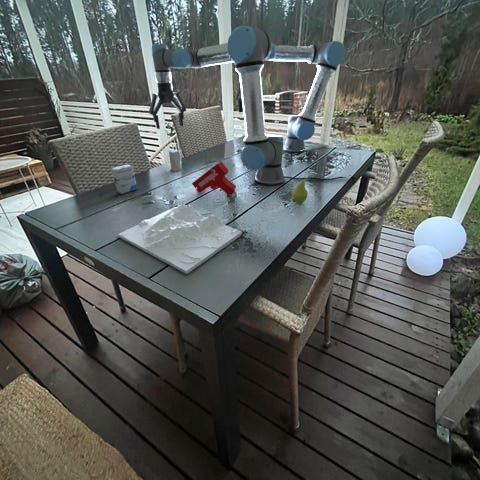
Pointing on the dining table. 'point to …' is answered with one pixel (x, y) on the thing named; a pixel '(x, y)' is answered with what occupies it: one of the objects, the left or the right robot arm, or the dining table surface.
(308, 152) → the dining table surface
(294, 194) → the fruit
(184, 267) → the relief map
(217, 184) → the toy gun
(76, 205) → the dining table surface
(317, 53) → the right robot arm
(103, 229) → the dining table surface
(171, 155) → the box
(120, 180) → the ink box
